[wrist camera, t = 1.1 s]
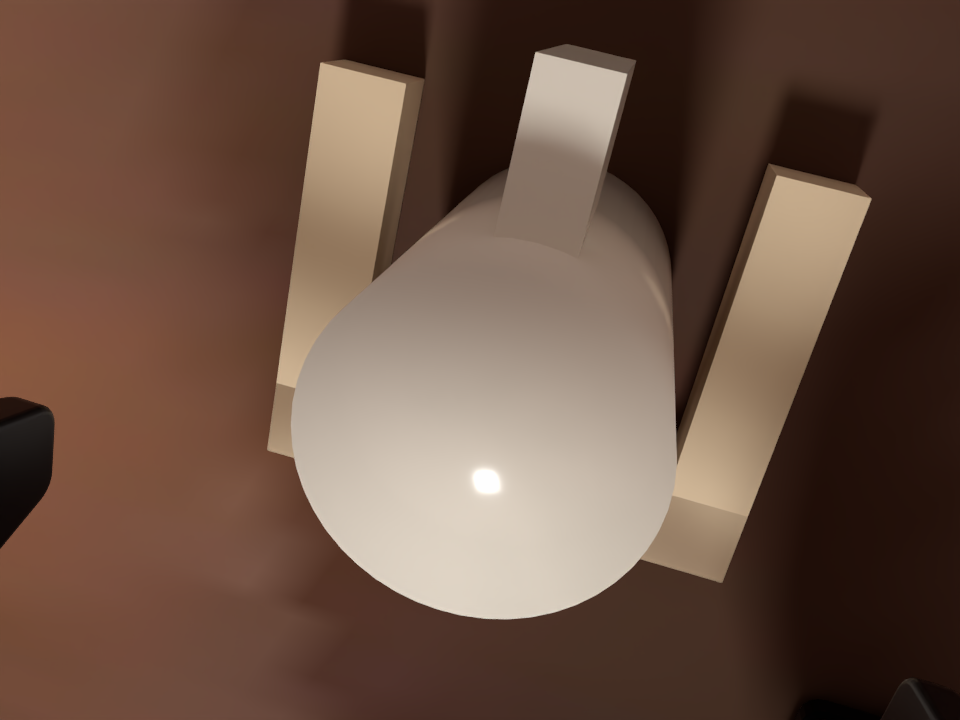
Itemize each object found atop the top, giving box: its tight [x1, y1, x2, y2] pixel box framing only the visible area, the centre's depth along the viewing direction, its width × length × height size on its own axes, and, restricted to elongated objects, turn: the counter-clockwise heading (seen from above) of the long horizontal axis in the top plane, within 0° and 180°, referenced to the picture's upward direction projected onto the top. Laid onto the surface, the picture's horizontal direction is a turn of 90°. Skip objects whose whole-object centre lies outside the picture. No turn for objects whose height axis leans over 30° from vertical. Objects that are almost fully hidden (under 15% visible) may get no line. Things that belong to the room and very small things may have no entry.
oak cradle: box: [267, 59, 871, 583], centre depth 20 cm, size 9×11×2 cm
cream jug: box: [291, 44, 677, 619], centre depth 16 cm, size 8×5×9 cm
